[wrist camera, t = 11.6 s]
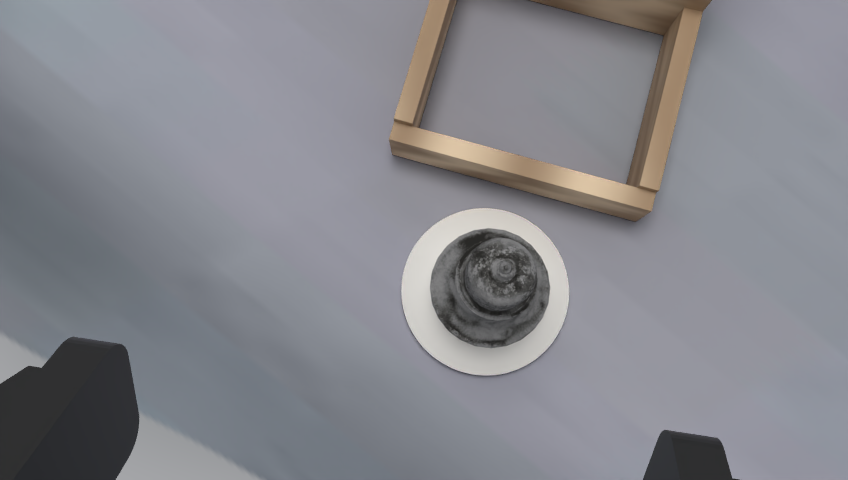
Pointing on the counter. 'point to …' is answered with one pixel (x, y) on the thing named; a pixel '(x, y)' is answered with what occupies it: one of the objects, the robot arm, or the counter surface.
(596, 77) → the counter surface
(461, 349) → the saucer
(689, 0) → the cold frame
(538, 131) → the counter surface
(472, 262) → the grey tall domed piece
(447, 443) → the counter surface
